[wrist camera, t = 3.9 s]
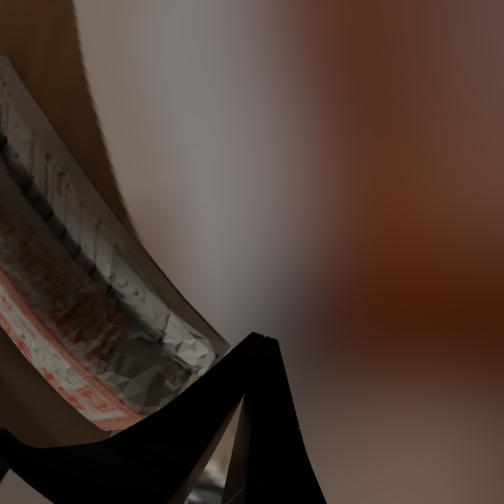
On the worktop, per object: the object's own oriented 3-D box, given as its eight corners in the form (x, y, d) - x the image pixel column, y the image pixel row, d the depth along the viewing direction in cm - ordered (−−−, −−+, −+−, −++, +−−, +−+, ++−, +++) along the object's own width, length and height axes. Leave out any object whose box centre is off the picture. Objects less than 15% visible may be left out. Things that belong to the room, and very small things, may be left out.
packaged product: (202, 442, 8) (92, 442, 12) (243, 343, 12) (129, 385, 17) (-67, 61, 4) (-82, 205, 8) (13, 49, 8) (-29, 177, 13)
